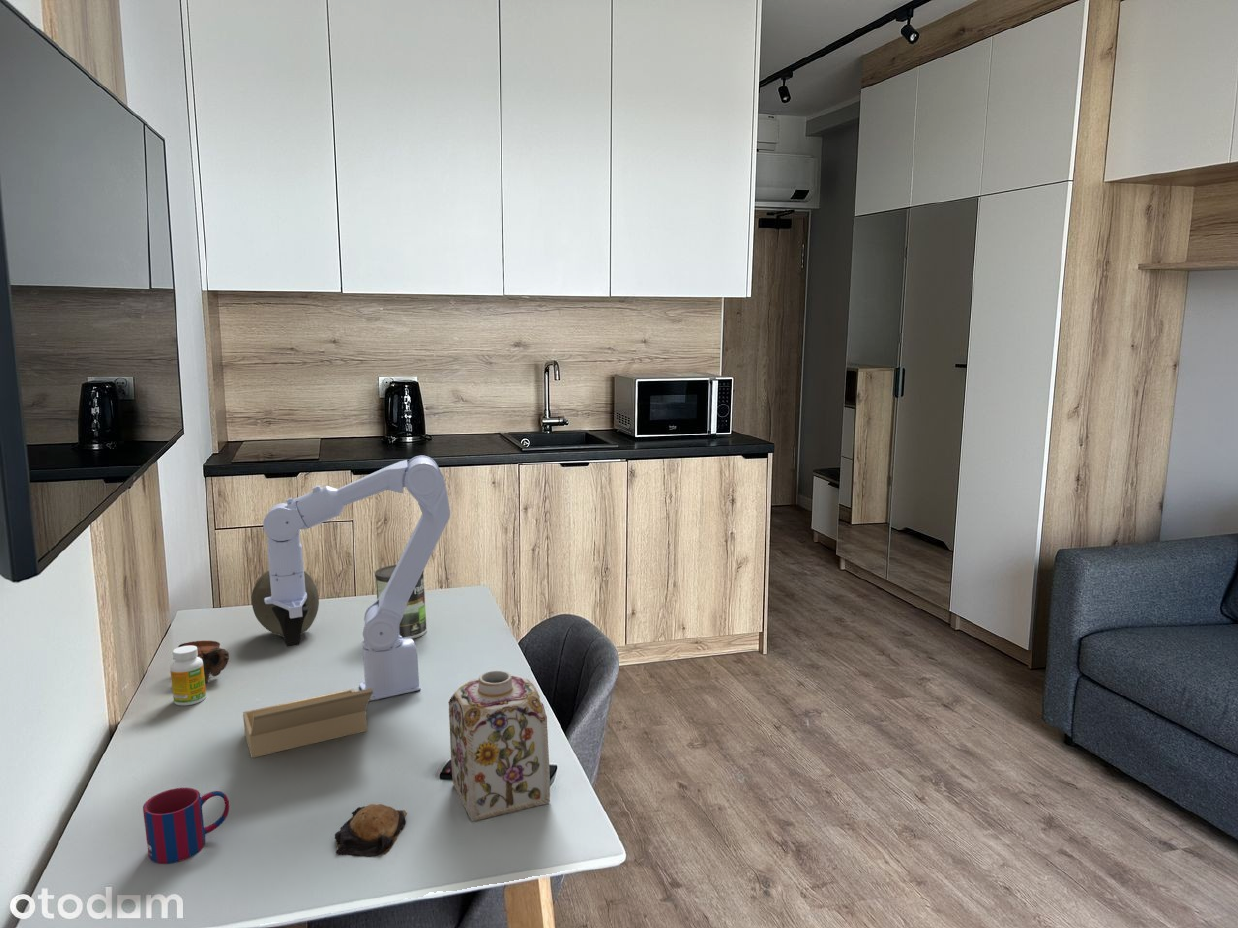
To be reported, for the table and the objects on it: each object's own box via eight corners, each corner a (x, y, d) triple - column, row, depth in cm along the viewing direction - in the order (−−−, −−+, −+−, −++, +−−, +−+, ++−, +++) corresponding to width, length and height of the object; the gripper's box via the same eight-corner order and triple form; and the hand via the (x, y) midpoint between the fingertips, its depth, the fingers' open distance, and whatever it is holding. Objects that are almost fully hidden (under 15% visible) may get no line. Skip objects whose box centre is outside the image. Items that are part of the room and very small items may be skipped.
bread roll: (353, 814, 126) (352, 790, 125) (413, 814, 125) (411, 790, 125) (325, 860, 115) (323, 833, 114) (390, 860, 115) (388, 834, 114)
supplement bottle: (193, 707, 159) (188, 655, 158) (167, 705, 160) (161, 653, 159) (212, 694, 165) (207, 644, 163) (187, 692, 166) (181, 642, 164)
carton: (354, 710, 157) (353, 688, 156) (367, 730, 149) (365, 708, 149) (244, 734, 149) (242, 712, 148) (251, 757, 141) (249, 734, 140)
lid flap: (372, 688, 141) (373, 691, 141) (364, 707, 149) (364, 711, 148) (253, 713, 133) (253, 717, 133) (250, 733, 140) (251, 736, 140)
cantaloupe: (334, 625, 200) (329, 560, 198) (298, 648, 187) (292, 579, 184) (278, 621, 203) (273, 557, 201) (239, 644, 190) (233, 575, 187)
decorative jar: (451, 783, 132) (445, 668, 129) (526, 766, 137) (522, 655, 134) (471, 824, 121) (464, 700, 118) (552, 805, 126) (548, 684, 123)
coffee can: (431, 624, 200) (428, 563, 198) (421, 640, 190) (417, 577, 187) (386, 624, 200) (382, 563, 198) (372, 641, 190) (368, 577, 188)
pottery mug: (160, 688, 169) (162, 645, 172) (197, 691, 178) (198, 650, 180) (213, 677, 166) (214, 633, 169) (248, 681, 174) (248, 639, 177)
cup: (148, 842, 119) (143, 795, 117) (230, 821, 123) (225, 776, 122) (148, 869, 113) (142, 820, 112) (234, 847, 117) (229, 799, 116)
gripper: (257, 565, 162) (263, 636, 165) (268, 585, 150) (275, 662, 152) (297, 559, 166) (303, 629, 168) (312, 579, 153) (318, 654, 155)
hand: (292, 644), depth 160 cm, fingers closed
